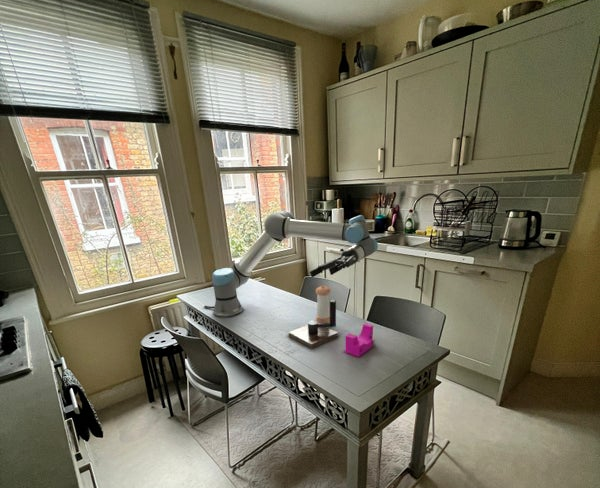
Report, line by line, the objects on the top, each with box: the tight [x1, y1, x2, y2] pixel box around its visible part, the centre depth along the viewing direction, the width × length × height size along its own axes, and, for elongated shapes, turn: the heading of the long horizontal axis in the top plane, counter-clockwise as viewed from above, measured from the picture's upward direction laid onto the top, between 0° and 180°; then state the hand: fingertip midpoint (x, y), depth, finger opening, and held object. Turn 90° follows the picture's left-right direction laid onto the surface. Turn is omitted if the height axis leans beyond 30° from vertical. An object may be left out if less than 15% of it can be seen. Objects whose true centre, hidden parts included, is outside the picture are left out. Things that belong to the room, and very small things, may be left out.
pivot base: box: [288, 324, 339, 349], centre depth 144 cm, size 16×16×2 cm
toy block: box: [344, 322, 374, 357], centre depth 132 cm, size 15×6×8 cm, turn 138°
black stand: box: [307, 299, 337, 334], centre depth 141 cm, size 13×4×15 cm, turn 89°
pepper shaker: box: [315, 284, 331, 323], centre depth 154 cm, size 7×7×19 cm
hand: (320, 273), depth 139 cm, fingers open, 13 cm apart
